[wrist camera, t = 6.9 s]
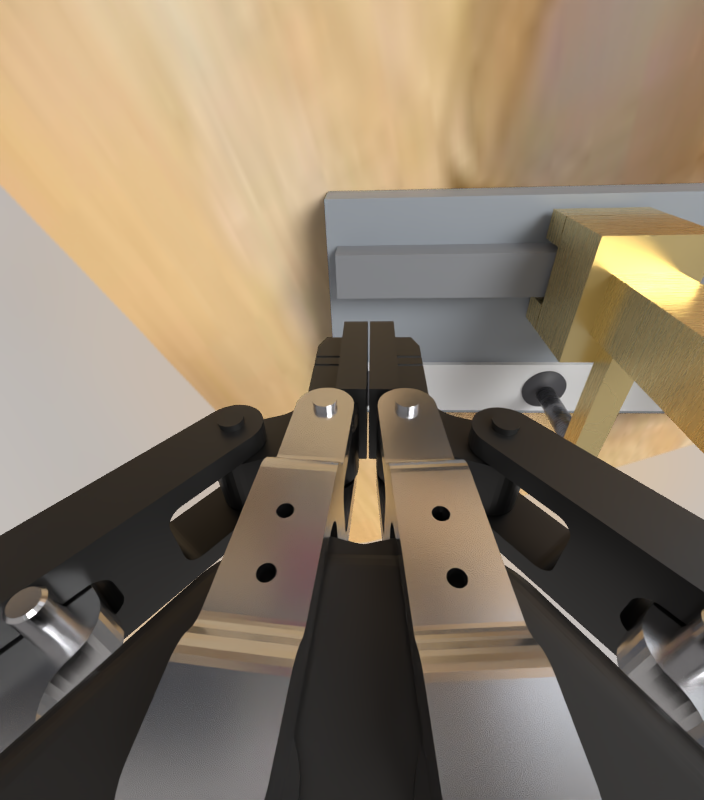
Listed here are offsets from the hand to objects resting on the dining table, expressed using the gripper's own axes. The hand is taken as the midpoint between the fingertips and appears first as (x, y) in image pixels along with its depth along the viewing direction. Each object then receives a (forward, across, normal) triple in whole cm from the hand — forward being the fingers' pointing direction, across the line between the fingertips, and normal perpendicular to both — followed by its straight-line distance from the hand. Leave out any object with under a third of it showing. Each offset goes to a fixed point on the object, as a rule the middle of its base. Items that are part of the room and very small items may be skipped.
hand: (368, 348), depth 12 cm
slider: (+8, -10, +3) cm, 13 cm away
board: (+10, -11, +3) cm, 15 cm away
